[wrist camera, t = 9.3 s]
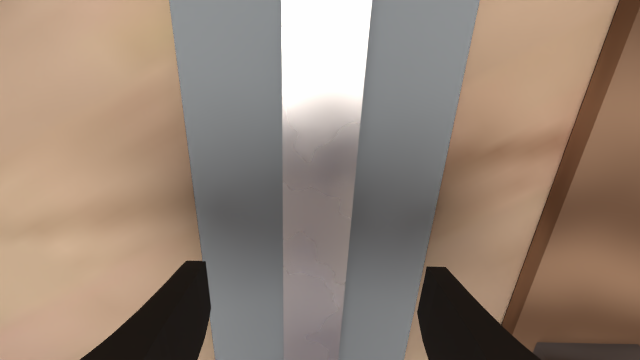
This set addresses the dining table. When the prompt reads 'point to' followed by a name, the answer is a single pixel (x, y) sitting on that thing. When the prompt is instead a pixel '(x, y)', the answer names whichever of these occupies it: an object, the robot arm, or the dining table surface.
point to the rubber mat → (267, 165)
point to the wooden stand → (591, 222)
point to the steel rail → (319, 165)
